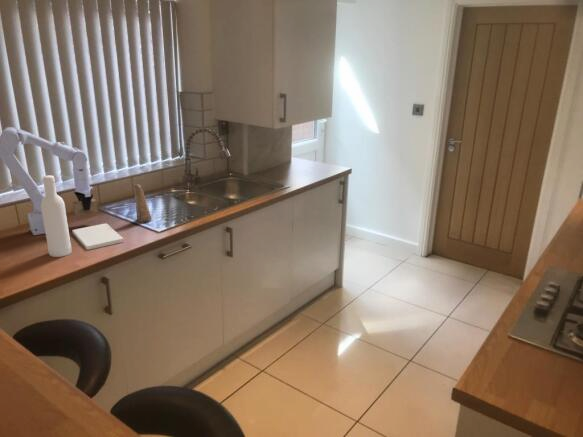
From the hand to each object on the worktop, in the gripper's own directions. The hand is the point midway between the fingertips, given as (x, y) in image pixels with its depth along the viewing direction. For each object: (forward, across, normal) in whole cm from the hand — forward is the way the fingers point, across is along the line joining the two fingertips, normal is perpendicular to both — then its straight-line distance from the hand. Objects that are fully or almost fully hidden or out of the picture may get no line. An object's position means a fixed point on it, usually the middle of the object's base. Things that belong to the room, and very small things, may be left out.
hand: (85, 208), depth 205 cm
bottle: (+8, -25, +17) cm, 31 cm away
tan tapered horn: (+8, -9, -22) cm, 25 cm away
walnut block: (+2, 0, 0) cm, 2 cm away
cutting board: (+7, -18, +1) cm, 19 cm away
